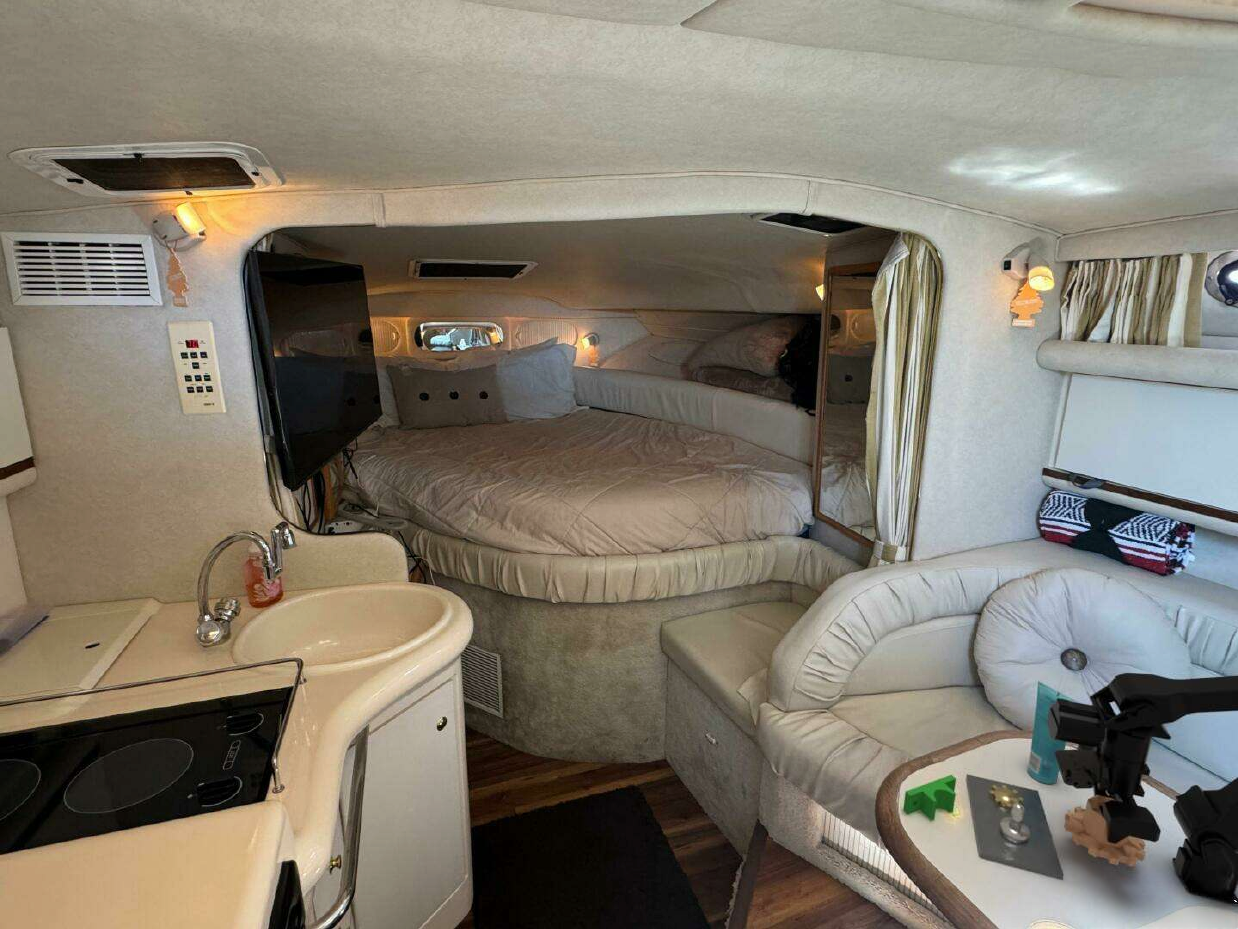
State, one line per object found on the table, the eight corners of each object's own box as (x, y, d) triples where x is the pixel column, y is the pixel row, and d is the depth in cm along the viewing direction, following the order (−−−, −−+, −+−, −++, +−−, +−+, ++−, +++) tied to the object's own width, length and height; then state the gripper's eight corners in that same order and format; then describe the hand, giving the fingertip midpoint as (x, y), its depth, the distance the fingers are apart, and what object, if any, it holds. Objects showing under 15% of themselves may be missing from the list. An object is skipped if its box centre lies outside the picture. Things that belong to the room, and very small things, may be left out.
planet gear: (1130, 822, 108) (1138, 794, 107) (1155, 875, 99) (1163, 845, 97) (1057, 805, 112) (1063, 777, 110) (1073, 854, 102) (1080, 824, 101)
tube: (1068, 781, 122) (1086, 697, 117) (1056, 792, 120) (1073, 707, 114) (1028, 758, 128) (1043, 677, 123) (1015, 768, 126) (1030, 686, 120)
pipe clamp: (918, 827, 113) (921, 806, 112) (902, 811, 117) (905, 791, 115) (965, 808, 117) (968, 788, 116) (948, 793, 120) (951, 774, 119)
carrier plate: (1036, 795, 119) (1043, 764, 117) (1062, 880, 102) (1070, 845, 100) (966, 778, 124) (970, 748, 122) (979, 857, 107) (985, 823, 105)
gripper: (1051, 704, 112) (1037, 776, 116) (1080, 778, 95) (1063, 859, 99) (1127, 719, 108) (1109, 792, 112) (1172, 798, 91) (1149, 881, 95)
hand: (1105, 828), depth 105 cm, fingers closed on planet gear, 6 cm apart
